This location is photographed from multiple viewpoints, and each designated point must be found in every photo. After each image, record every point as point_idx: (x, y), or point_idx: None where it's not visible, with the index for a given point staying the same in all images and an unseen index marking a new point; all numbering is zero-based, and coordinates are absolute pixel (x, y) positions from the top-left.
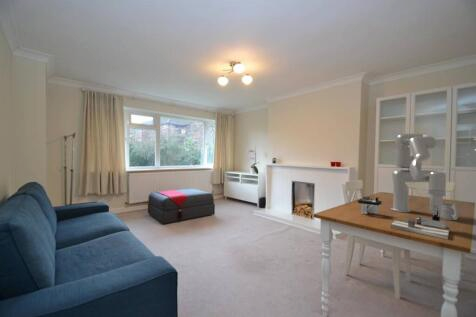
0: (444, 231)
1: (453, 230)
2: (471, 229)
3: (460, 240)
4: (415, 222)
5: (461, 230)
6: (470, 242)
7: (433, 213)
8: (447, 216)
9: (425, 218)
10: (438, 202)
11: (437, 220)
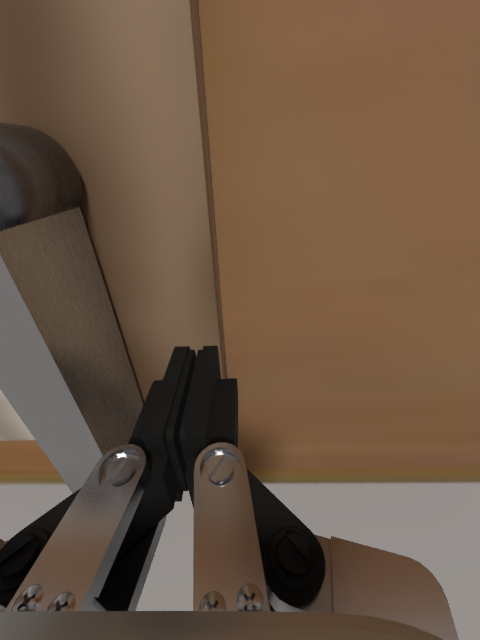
0: (21, 421)
1: (270, 424)
2: (392, 482)
3: (27, 455)
4: (91, 80)
5: (315, 453)
6: (48, 481)
7: (49, 552)
8: None
9: (29, 310)
10: None
11: (96, 447)
